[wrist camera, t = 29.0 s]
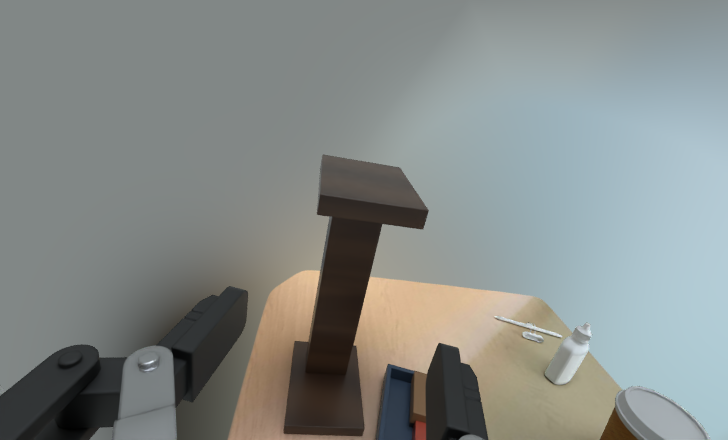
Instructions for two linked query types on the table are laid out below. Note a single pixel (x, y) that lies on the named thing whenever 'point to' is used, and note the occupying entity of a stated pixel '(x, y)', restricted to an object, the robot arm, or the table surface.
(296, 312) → the table surface
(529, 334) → the picture light
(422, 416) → the brush
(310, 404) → the shelf stand
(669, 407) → the disposable coffee cup
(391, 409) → the tray
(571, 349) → the eye dropper bottle
